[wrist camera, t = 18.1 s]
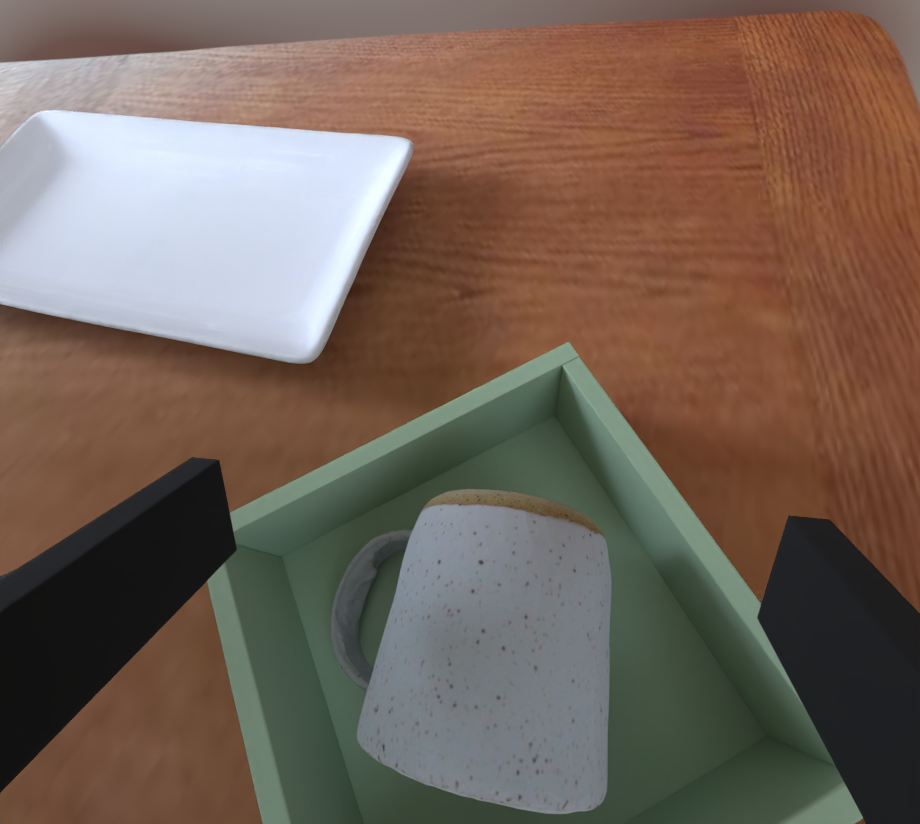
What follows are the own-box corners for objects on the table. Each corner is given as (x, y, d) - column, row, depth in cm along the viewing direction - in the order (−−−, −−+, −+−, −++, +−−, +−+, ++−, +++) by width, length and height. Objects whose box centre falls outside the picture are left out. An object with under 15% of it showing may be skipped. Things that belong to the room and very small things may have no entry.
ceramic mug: (599, 539, 20) (634, 494, 13) (589, 767, 17) (627, 861, 10) (369, 507, 22) (296, 454, 15) (322, 705, 19) (203, 749, 12)
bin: (269, 551, 23) (194, 529, 18) (559, 402, 24) (568, 341, 19) (398, 983, 16) (337, 1156, 11) (789, 743, 17) (903, 795, 12)
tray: (71, 144, 39) (31, 102, 36) (428, 179, 32) (417, 131, 29) (-68, 309, 33) (-130, 276, 30) (337, 397, 26) (311, 366, 23)
